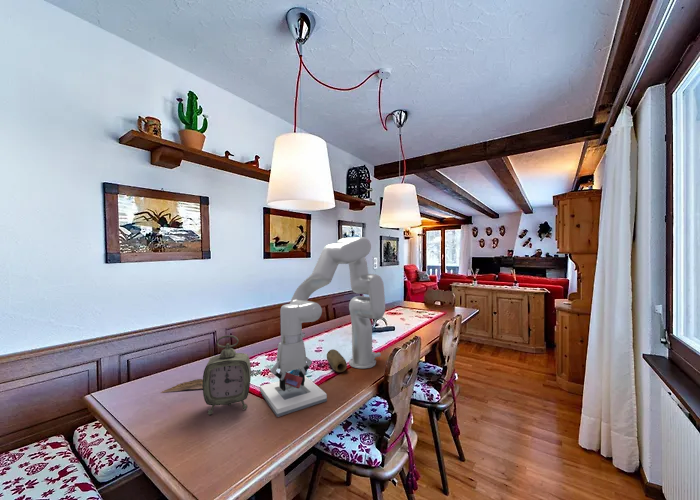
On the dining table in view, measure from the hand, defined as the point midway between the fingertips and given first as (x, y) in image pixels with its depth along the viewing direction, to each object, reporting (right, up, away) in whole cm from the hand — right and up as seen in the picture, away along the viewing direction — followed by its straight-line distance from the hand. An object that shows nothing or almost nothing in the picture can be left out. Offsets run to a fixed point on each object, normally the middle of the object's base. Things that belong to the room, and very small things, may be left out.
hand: (292, 386), depth 108 cm
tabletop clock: (-20, -4, -7) cm, 22 cm away
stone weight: (+15, -4, +26) cm, 30 cm away
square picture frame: (0, -4, 0) cm, 4 cm away
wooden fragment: (-40, -5, +11) cm, 42 cm away
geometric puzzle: (0, -1, 0) cm, 1 cm away
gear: (-2, -4, +22) cm, 22 cm away
